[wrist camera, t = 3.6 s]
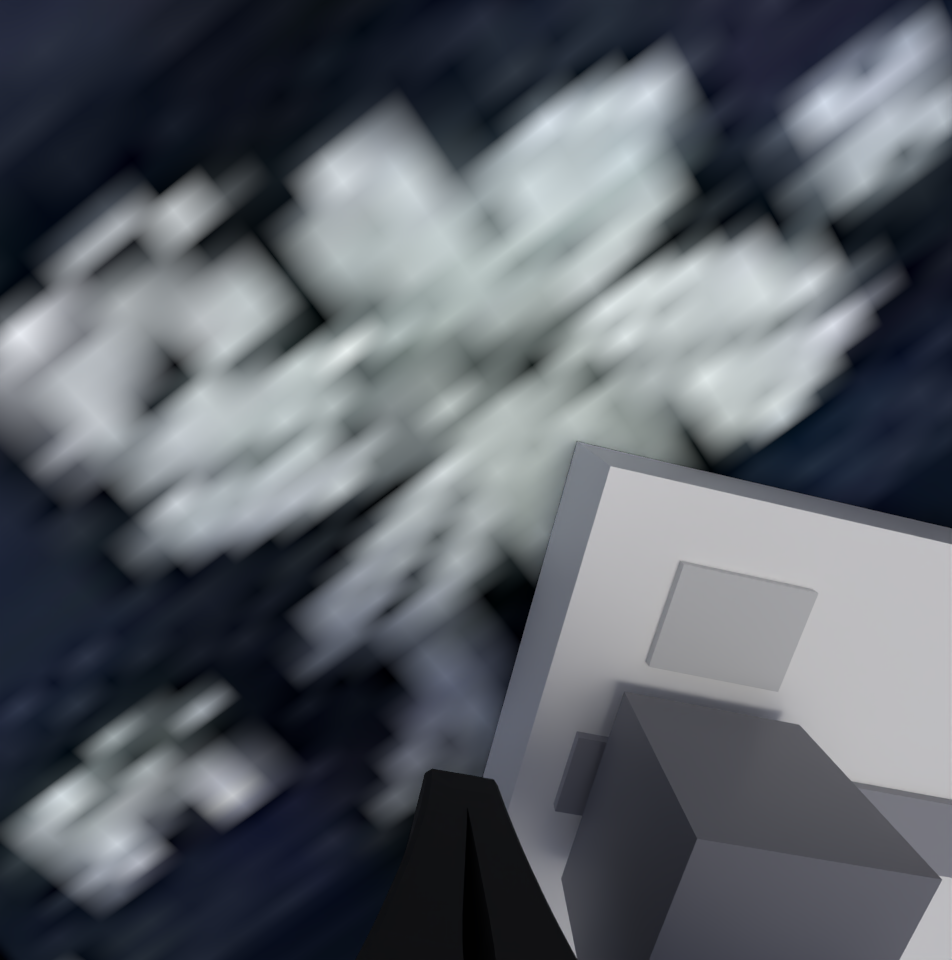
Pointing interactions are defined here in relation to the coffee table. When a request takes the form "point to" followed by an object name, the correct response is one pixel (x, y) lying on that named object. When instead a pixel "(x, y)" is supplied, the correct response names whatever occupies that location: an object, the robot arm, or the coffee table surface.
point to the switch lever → (734, 847)
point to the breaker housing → (733, 647)
